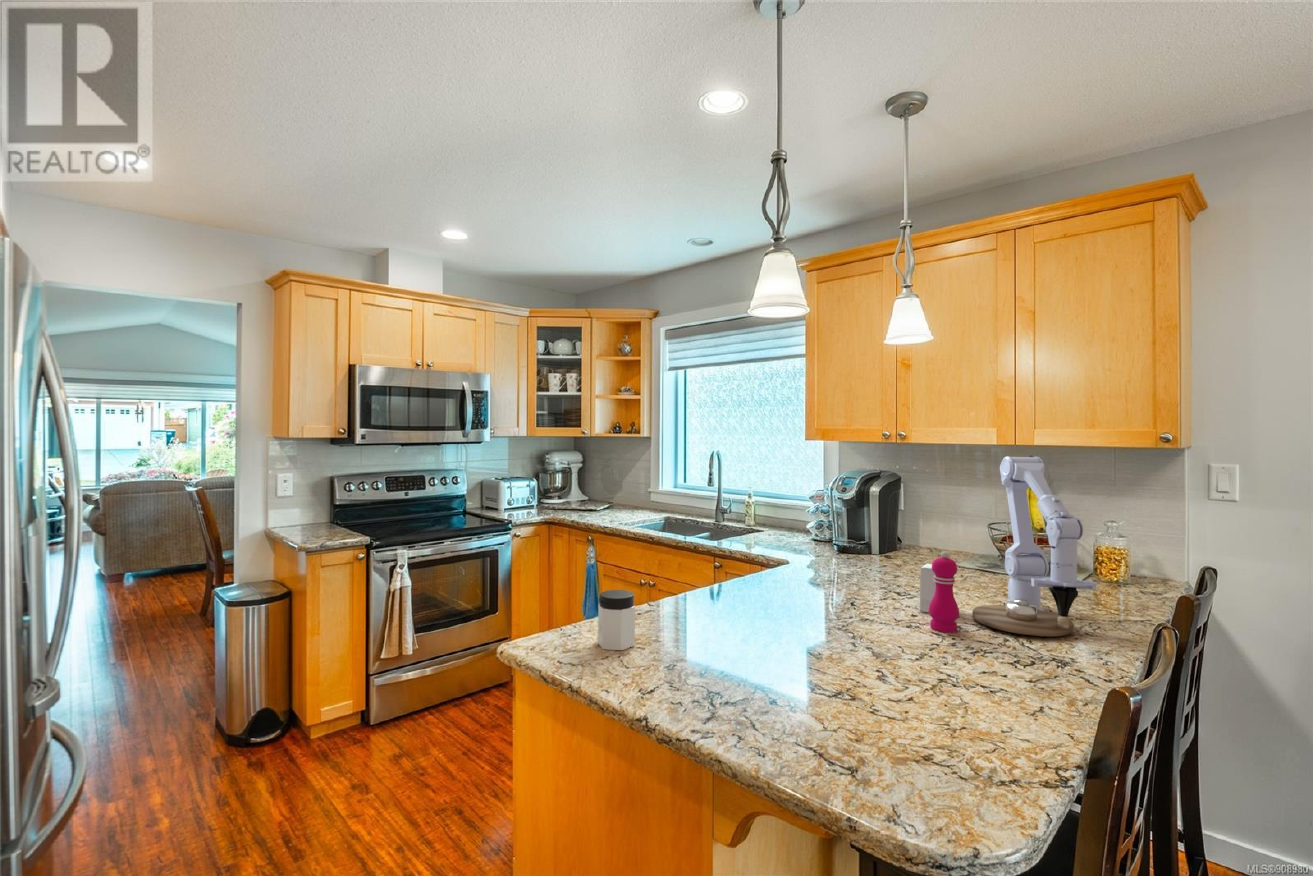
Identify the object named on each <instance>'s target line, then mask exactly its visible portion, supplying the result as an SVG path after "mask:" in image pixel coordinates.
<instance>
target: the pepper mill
mask: <svg viewBox="0 0 1313 876" xmlns="http://www.w3.org/2000/svg"><path fill="white" fill-rule="evenodd" d="M940 556H941V557H937V558H935V559H933V561H932V563H931V564H932V571H933V572H934V573H935V575H934V581H935V584H936V589H935V594H934V596H933V598H932V600H931V602H930V605H929V613H928V615H929V616H930V617H931V618H932V619H930V622H929V623H930V627H929V628H931V630H934V631H937V632H940V633H949V632H952V633H956V632H957V630H958V623H957V622H956V621H957V620H958V619H959V617H960V608H959V605H958V604H957V601H956V600H955V599H956V598H955V597H954V584H956V581H955V580H956V577H955V575H956V574H957V572H958V564H957V563H956V561H954V560H953V559H952V558H950V557H949V553H948V552H947V551H942V552H941V553H940Z"/></svg>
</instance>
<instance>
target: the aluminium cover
mask: <svg viewBox="0 0 1313 876" xmlns="http://www.w3.org/2000/svg"><path fill="white" fill-rule="evenodd" d="M1006 601H1007V602H1006V603H1005V605H1006V616H1007V617H1008V618H1011V619H1014V620H1018V621H1026V622H1033V621H1036V620H1037V606H1036V605H1035V604H1032V603H1029V601H1028V600H1024V599H1014V601H1008V600H1006Z"/></svg>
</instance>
